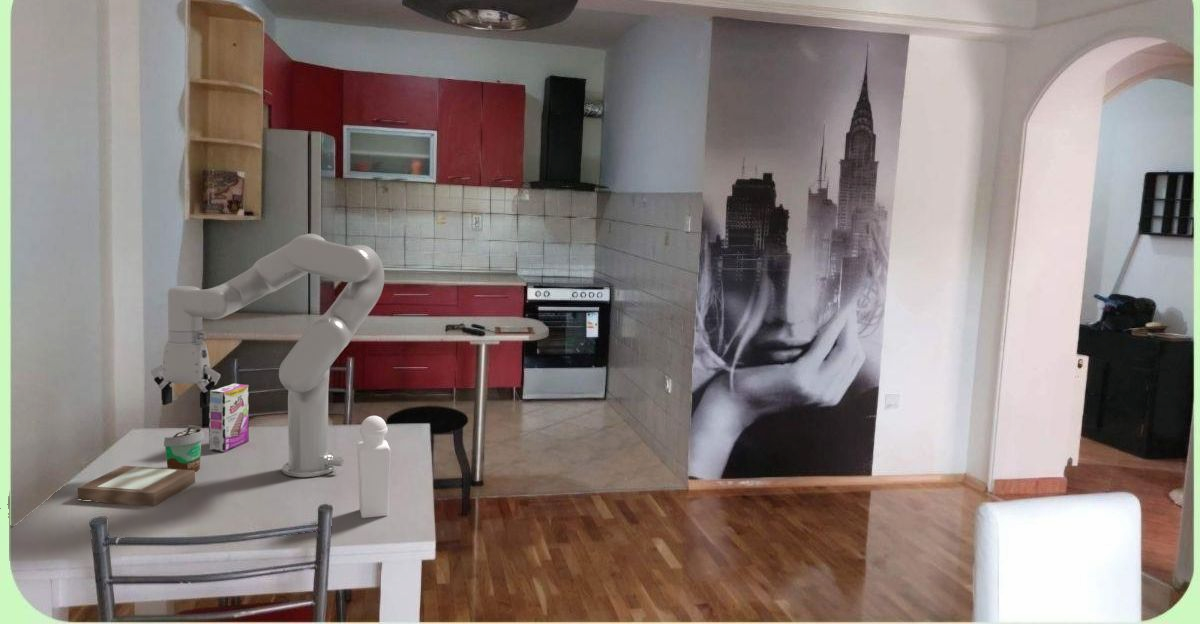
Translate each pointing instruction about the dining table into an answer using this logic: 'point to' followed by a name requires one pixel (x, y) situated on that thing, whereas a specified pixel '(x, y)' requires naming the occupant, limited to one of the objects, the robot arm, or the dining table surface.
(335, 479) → the dining table surface
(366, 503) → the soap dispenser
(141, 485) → the plinth
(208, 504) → the dining table surface
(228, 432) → the candy bar box
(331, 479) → the dining table surface
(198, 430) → the food container
